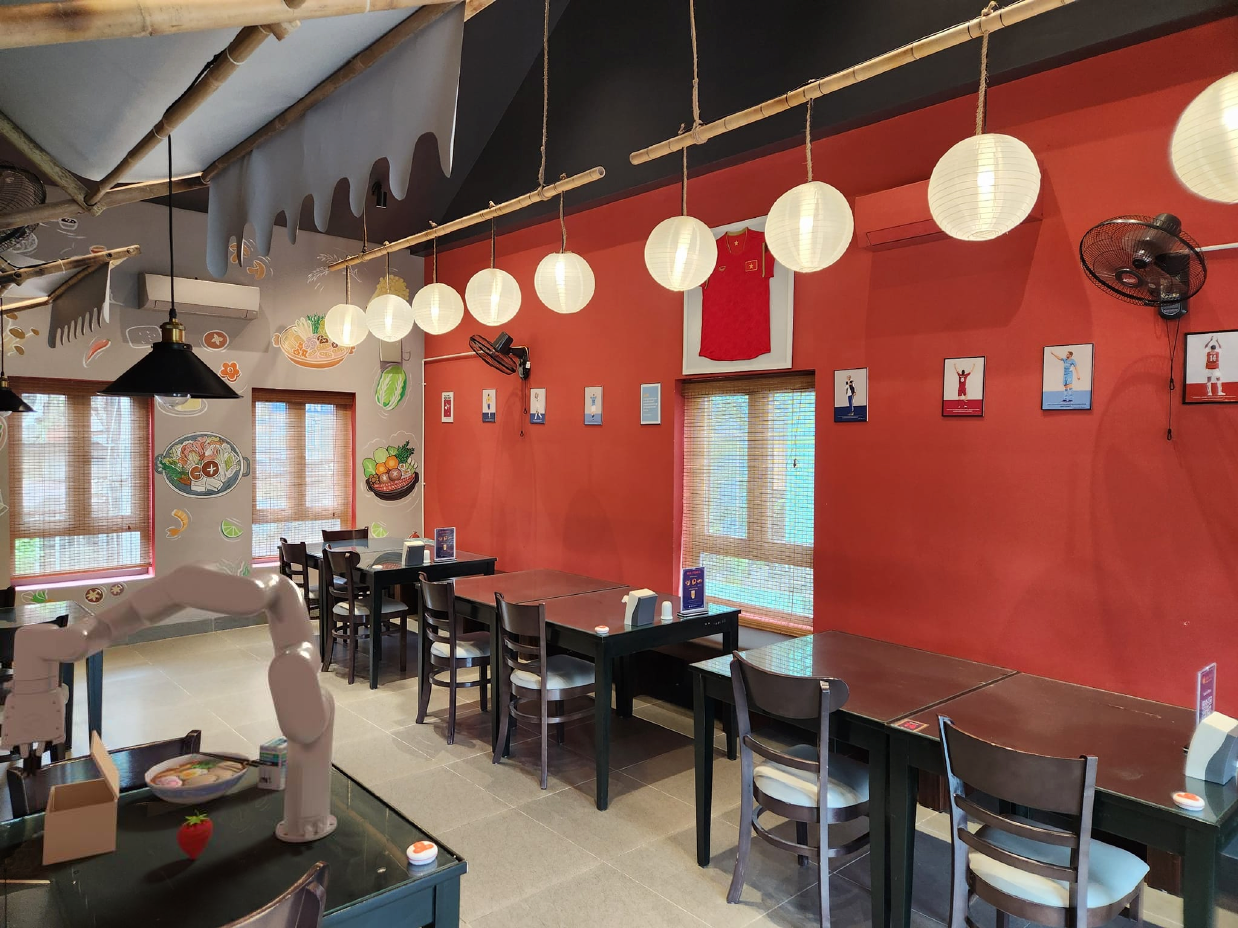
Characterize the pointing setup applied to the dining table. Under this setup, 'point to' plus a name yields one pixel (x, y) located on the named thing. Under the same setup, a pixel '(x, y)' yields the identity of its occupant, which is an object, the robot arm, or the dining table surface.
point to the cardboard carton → (79, 821)
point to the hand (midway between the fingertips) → (31, 774)
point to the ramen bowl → (198, 776)
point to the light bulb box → (273, 763)
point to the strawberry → (194, 835)
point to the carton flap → (105, 764)
